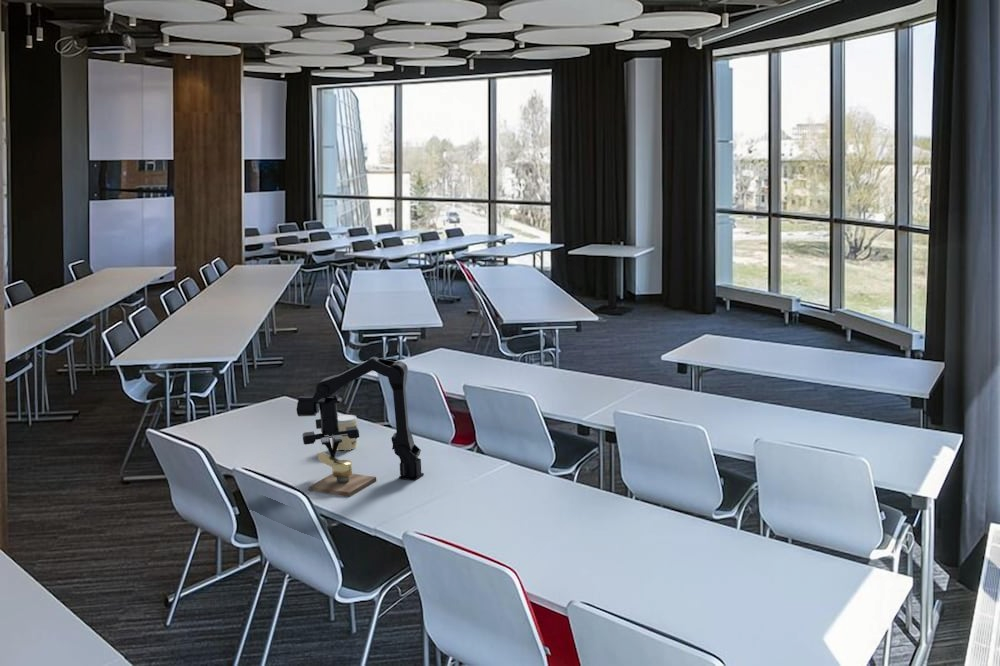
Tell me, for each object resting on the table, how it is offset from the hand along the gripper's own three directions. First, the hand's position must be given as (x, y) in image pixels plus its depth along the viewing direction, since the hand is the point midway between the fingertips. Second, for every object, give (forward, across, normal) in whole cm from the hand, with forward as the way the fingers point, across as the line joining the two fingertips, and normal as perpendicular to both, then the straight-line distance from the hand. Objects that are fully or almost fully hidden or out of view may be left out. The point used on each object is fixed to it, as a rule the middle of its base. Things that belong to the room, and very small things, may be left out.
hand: (333, 459), depth 315 cm
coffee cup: (+6, -7, -32) cm, 33 cm away
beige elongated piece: (+2, 0, +5) cm, 6 cm away
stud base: (+6, -2, +11) cm, 13 cm away
